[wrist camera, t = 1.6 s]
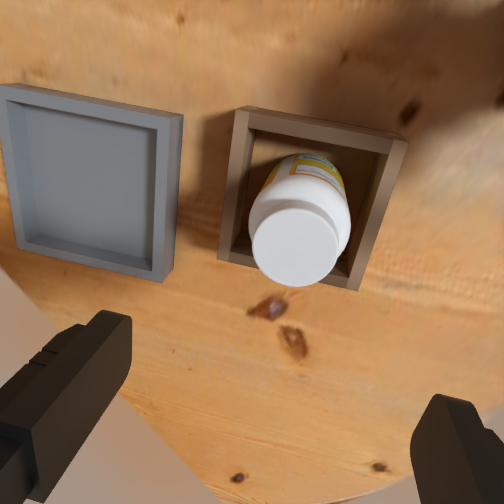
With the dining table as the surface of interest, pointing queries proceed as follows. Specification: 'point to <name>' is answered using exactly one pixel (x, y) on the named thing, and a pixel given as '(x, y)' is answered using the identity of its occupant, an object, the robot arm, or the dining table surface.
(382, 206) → the holder
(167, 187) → the tray
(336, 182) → the supplement bottle
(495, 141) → the dining table surface
